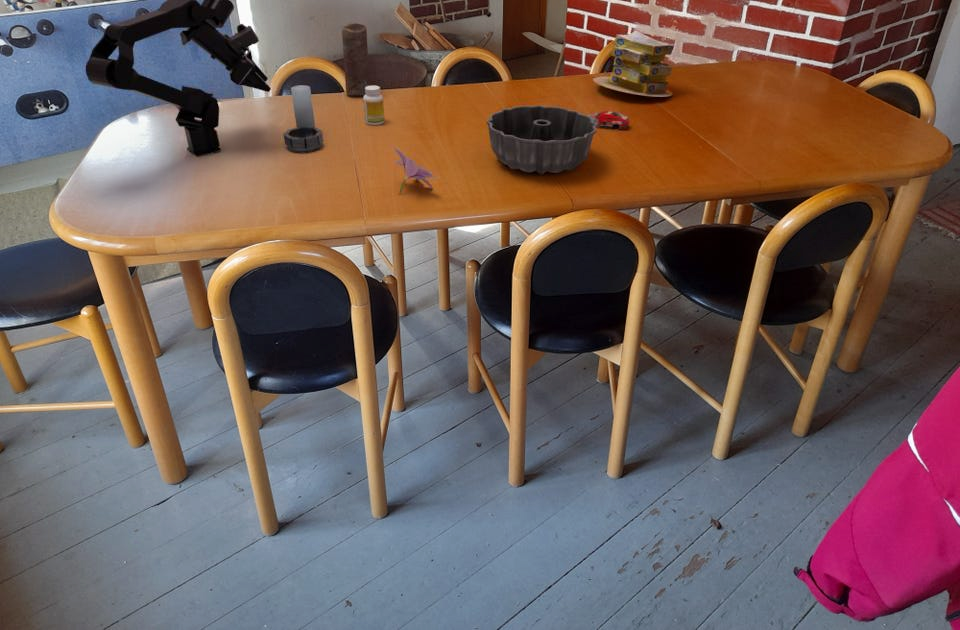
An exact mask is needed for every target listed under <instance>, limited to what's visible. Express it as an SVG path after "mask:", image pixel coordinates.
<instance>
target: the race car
mask: <svg viewBox="0 0 960 630" xmlns="http://www.w3.org/2000/svg"><path fill="white" fill-rule="evenodd" d="M585 115H587V116H590V117H591V118H592V119H593V122H595V123H597V124H598V126H597V127H596V128H600V127H603V128H602V129H608V128H612V129H611V130H613V129H618V130H619V128H620V130H621V129H622V130H627V129H628V127H629V125H630V124H629V123H630V122H629V117H628V116H626V115H623V113H622V114H621V113H619V112H617V111H612V110H604V111H600V112H598V113H587V114H585Z"/></svg>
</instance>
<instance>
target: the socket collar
mask: <svg viewBox="0 0 960 630" xmlns="http://www.w3.org/2000/svg"><path fill="white" fill-rule="evenodd" d="M282 135H283V139H284V140H283V141H284V145H285V146H286V150H288V151H290V152H293V153H297V152H298V153H299V154H300V153H301V154H302V152H306V153H311V151H312V152H315V150H316V151H319V150H320V149H322V148H323V146H322V145H323V143H324V136H323V131H322V130H321V129H319V128H318V127H316V126H315V128H314V127H293V128H288V129H287V130H286V131H285V132H284V133H283V134H282ZM298 153H297V154H298Z"/></svg>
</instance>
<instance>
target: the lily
mask: <svg viewBox="0 0 960 630" xmlns="http://www.w3.org/2000/svg"><path fill="white" fill-rule="evenodd" d="M391 148H392V149H393V150H394V151H395V152H396V154H397V155H398V157H399V158H400V160H397V159H396V160H394V163H396V164H397V165H400V166H401V167H402V168H404V169H403V170H404V174H405V178H404V180H403V182H402V184H401V187H400V190H399V193H398V195H401V194H402V191H403V188H404V184H405V182H406V181H407V179H415V180H417V179H418V180H421V181H423V182H424V183H425V184H426V185H427V186H429V187H430V188H431V189H432V188H433V185H432V184H431V183H430V182H429V181H428V180H427V179H431V178H433V179H436V178H437V176H436V175H435V174H433V173H432V172H430V171H429V170H427V169H426V168H424V167H422V166H419V164H417V162H415V160H414V159H413V158H412V157H407V156H406V155H405V154H404V153H403V152H402V151H401V150H399V149H398V148H397V147H395V146H393V145H391ZM418 180H417V181H418ZM433 189H434V188H433ZM400 193H401V194H400Z"/></svg>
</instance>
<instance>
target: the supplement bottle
mask: <svg viewBox="0 0 960 630" xmlns="http://www.w3.org/2000/svg"><path fill="white" fill-rule="evenodd" d="M365 93H366V94H365V95H363V96H362V97H363V99H362V100H363V101H362V103H363V113H364V122H365V124H367V125H370V126H378V125H379V126H380V125H382V124H383V123H385V112H384V111H385V109H384V97H383V95H382V94H381V87H380V86H378V85H370V86H367V87H365Z"/></svg>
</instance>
